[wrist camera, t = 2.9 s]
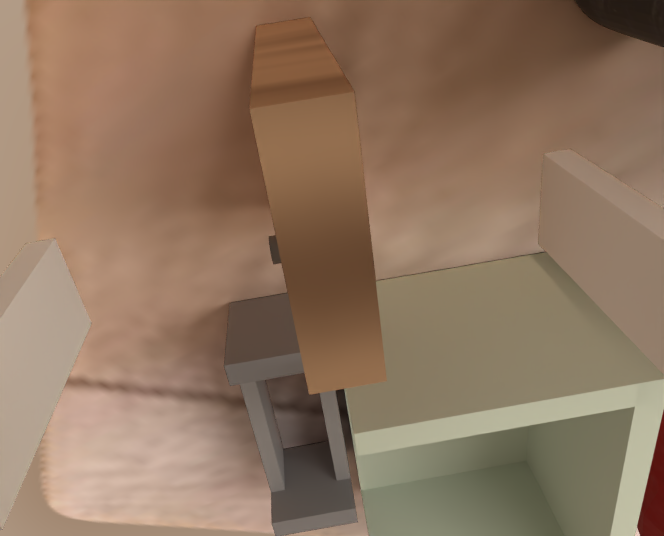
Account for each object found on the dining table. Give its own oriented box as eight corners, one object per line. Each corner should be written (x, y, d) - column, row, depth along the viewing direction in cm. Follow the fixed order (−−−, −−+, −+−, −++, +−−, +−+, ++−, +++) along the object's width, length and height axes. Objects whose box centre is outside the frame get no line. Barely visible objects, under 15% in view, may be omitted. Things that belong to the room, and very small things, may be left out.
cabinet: (229, 302, 29) (215, 454, 21) (553, 247, 30) (671, 373, 21) (284, 503, 38) (291, 671, 29) (537, 457, 38) (617, 610, 29)
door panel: (239, 28, 23) (215, 114, 12) (310, 17, 23) (354, 91, 12) (275, 207, 27) (284, 399, 16) (335, 197, 27) (387, 381, 16)
